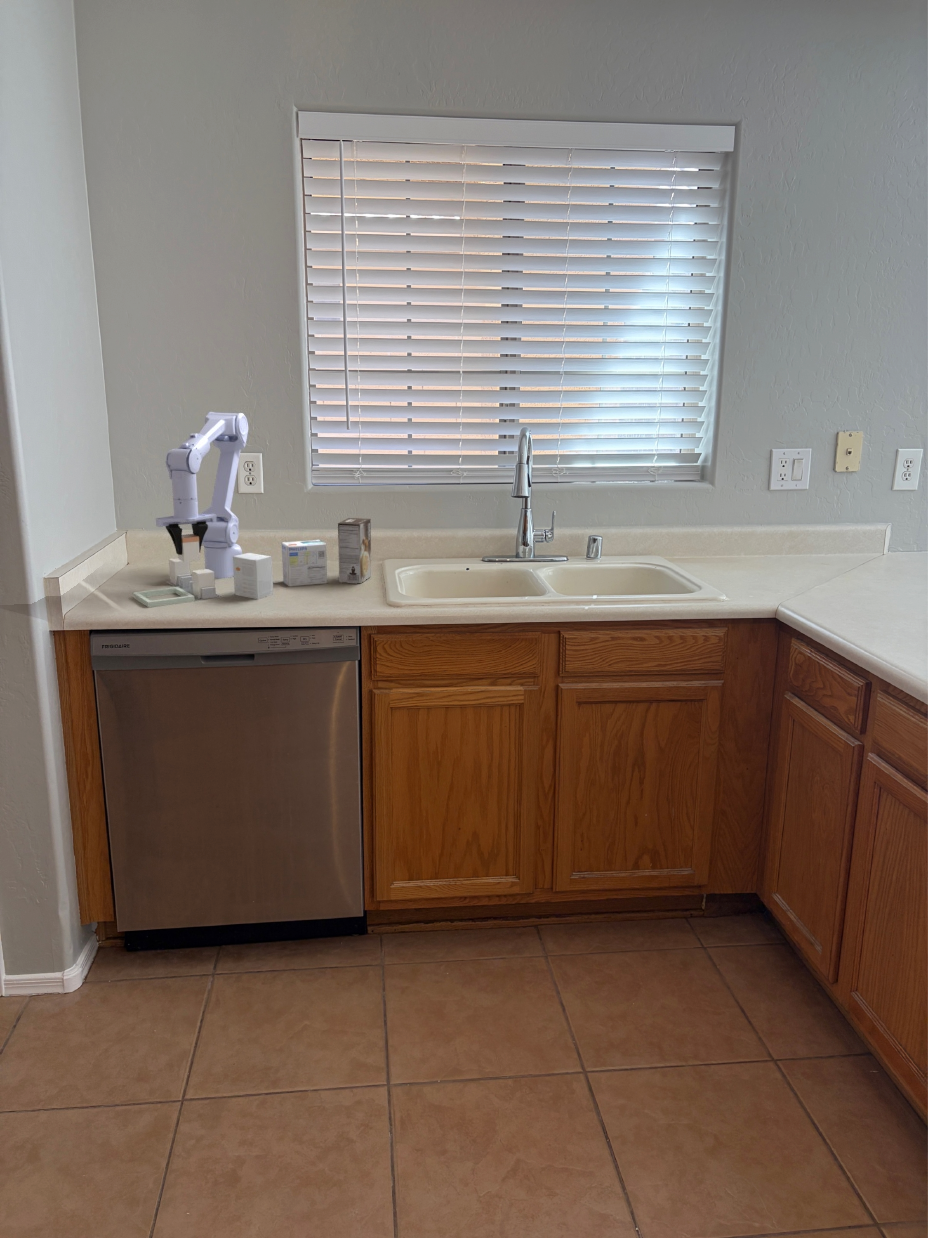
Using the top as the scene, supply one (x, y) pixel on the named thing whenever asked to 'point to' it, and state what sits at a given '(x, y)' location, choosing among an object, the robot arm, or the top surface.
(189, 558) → the block
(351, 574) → the coffee box
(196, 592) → the block
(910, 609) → the top surface
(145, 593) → the tray
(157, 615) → the top surface
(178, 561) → the block
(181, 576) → the fuse holder
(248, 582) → the small box
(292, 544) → the light bulb box
